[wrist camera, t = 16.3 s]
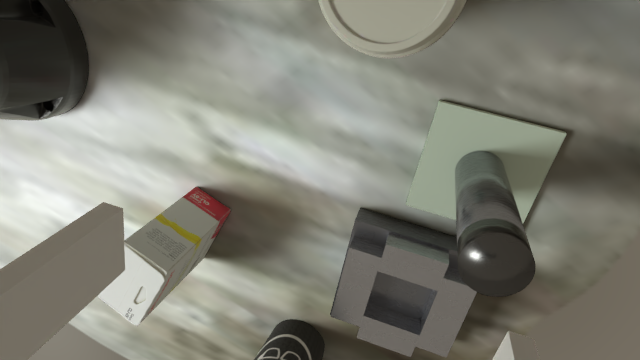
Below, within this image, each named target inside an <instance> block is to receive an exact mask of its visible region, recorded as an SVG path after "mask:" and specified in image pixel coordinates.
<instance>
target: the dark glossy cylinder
mask: <svg viewBox="0 0 640 360" xmlns="http://www.w3.org/2000/svg"><path fill="white" fill-rule="evenodd" d="M455 197H456V227H457V257H458V271H459V274H460V276H461V278H462V280H463V281H464V283H465V284H466V285H467V286H469V287H470V288H471V289H473V290H474V291H476V292H478V293H481V294H483V295H487V296H494V297H502V296H508V295H512V294H515V293H517V292H519V291H521V290H523V289H524V288H525V287H526V286H527V285H528V284H529V283H530V282H531V280H532V279H533V277H534V274H535V261H534V258H533V255H532V251H531V248H530V245H529V242H528V239H527V236H526V233H525V230H524V227H523V223H522V220H521V217H520V214H519V211H518V208H517V205H516V202H515V199H514V195H513V192H512V189H511V186H510V183H509V180H508V177H507V174H506V171H505V167H504V165H503V162H502V161H501V159H500V158H499V157H498V156H496V155H495V154H493V153H491V152H488V151H482V150H481V151H473V152H470V153H468V154H466V155H464V156H463V157H462V158H461V159H460V160H459V161H458V163H457V165H456V168H455Z"/></svg>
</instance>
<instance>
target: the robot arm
mask: <svg viewBox="0 0 640 360" xmlns="http://www.w3.org/2000/svg"><path fill="white" fill-rule="evenodd" d="M87 78H88V57H87V50H86V46H85V42H84V38H83V35H82V32H81V30H80V27H79V25H78V23H77V21H76V19H75V17H74V15H73V13H72V12H71V10H70V8H69V7H68V5H67V4H66V2H65V1H64V0H0V119H9V120H42V119H47V118H50V117H53V116H57V115H60V114H63V113H65V112H67V111H69V110H70V109H72V108H73V107H74V106H75V105H76V104H77V103H78V102H79V100H80V99H81V97H82V95H83V93H84V90H85V87H86V84H87ZM124 271H125V251H124V223H123V208H120V207H117V206H114V205H111V204H108V203H104V202H103V203H101V204H100V205H98V206H97V207H95V208H94V209H92V210H91V211H89V212H88V213H86V214H85V215H83V216H81V217H80V218H78V219H77V220H75V221H74V222H72V223H71V224H69V225H68V226H66V227H65V228H63V229H62V230H60V231H58V232H57V233H55V234H54V235H52V236H51V237H49V238H48V239H46V240H45V241H43V242H42V243H40V244H38V245H37V246H35V247H34V248H32V249H31V250H29V251H28V252H26V253H25V254H23V255H22V256H20V257H19V258H17V259H15V260H14V261H12V262H11V263H9V264H8V265H6V266H5V267H3V268H2V269H0V360H28V359H29V358H30V357H31V356H32V355H33V354H34V353H35V352H36V351H37V350H39V349H40V348H41V347H42V346H43V345H44V344H45V343H46V342H47V341H48V340H49V339H51V338H52V337H53V336H54V335H55V334H56V333H57V332H58V331H59V330H60V329H61V328H63V327H64V326H65V325H66V324H67V323H68V322H69V321H70V320H71V319H72V318H74V317H75V316H76V315H77V314H78V313H79V312H80V311H81V310H82V309H83V308H84V307H85V306H87V305H88V304H89V303H90V302H91V301H92V300H93V299H94V298H95V297H96V296H97V295H99V294H100V293H101V292H102V291H103V290H104V289H105V288H106V287H107V286H108V285H109V284H111V283H112V282H113V281H114V280H115V279H116V278H117V277H118V276H119V275H120V274H121V273H123V272H124ZM492 360H540V358H539V354H538V351H537V347H536V344H535V341H534V339H532V338H529V337H526V336H523V335H520V334H517V333H514V332H510V331H508V332H507V334H506V336H505V338H504V340H503V341H502V343H501V345H500V347H499V349H498V350H497V352H496V354H495V356H494V358H493V359H492Z"/></svg>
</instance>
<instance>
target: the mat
mask: <svg viewBox="0 0 640 360" xmlns="http://www.w3.org/2000/svg"><path fill="white" fill-rule="evenodd" d="M566 134H567V133H566V132H565V131H561V130H557V129H553V128H549V127H545V126H541V125H537V124H533V123H529V122H525V121H521V120H517V119H514V118H510V117H506V116H502V115H498V114H494V113H490V112H486V111H482V110H478V109H474V108H470V107H466V106H462V105H458V104H454V103H450V102H446V101H442V100H439V103H438V106H437V109H436V112H435V115H434V118H433V121H432V124H431V127H430V130H429V133H428V137H427V140H426V143H425V146H424V149H423V152H422V155H421V158H420V161H419V164H418V167H417V170H416V174H415V177H414V180H413V183H412V186H411V189H410V192H409V195H408V198H407V201H406V205H407V206H410V207H414V208H417V209H420V210H424V211H427V212H430V213H434V214H437V215H440V216H444V217H447V218H450V219H454V220H456V197H455V168H456V165H457V163H458V161H459V160H460V159H461V158H462V157H463V156H464V155H466V154H468V153H470V152H473V151H481V150H482V151H488V152H491V153H493V154H495V155H496V156H498V157H499V158H500V159H501V161H502V162H503V165H504V167H505V171H506V174H507V177H508V180H509V183H510V186H511V189H512V192H513V195H514V199H515V202H516V205H517V208H518V211H519V214H520V217H521V220H522V223H524V221H525V219H526V217H527V215H528V213H529V210H530V208H531V206H532V204H533V202H534V200H535V198H536V196H537V194H538V192H539V190H540V188H541V186H542V184H543V182H544V180H545V177H546V175H547V173H548V171H549V169H550V167H551V165H552V163H553V161H554V159H555V157H556V155H557V153H558V151H559V149H560V147H561V144H562V142H563V140H564V138H565V136H566Z"/></svg>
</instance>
